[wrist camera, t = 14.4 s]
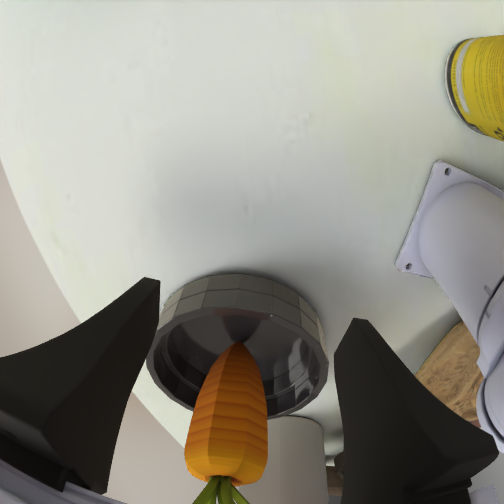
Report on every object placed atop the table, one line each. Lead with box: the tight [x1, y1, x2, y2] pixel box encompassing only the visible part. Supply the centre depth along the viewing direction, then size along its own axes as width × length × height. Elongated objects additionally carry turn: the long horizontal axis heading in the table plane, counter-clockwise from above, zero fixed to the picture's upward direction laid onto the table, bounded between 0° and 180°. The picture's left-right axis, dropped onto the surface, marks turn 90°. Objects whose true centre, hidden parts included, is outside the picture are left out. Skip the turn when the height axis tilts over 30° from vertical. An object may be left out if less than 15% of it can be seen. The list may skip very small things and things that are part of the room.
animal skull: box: [415, 321, 484, 422], centre depth 20 cm, size 11×15×8 cm
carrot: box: [184, 342, 268, 504], centre depth 17 cm, size 5×5×15 cm
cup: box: [239, 416, 329, 504], centre depth 26 cm, size 9×9×12 cm
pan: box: [146, 274, 329, 420], centre depth 22 cm, size 13×13×4 cm
